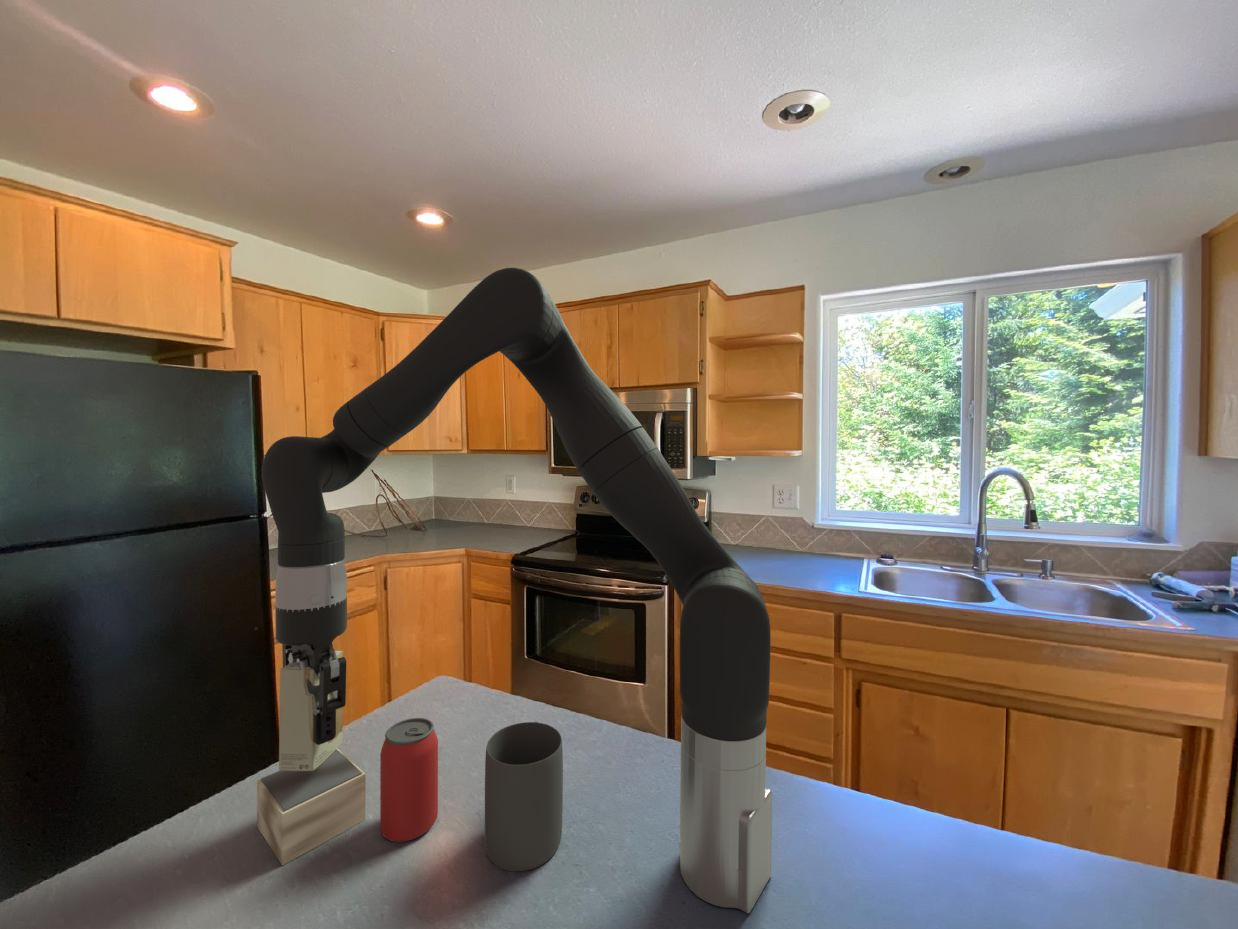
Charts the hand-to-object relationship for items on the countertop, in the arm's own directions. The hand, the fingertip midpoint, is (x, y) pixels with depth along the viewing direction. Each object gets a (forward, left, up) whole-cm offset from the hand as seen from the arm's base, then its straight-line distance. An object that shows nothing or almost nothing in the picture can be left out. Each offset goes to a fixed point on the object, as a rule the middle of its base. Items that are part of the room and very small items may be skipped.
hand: (312, 729), depth 61 cm
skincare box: (0, 0, -3) cm, 3 cm away
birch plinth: (0, 0, -12) cm, 12 cm away
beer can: (-10, -7, -12) cm, 17 cm away
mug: (-21, -17, -12) cm, 29 cm away
